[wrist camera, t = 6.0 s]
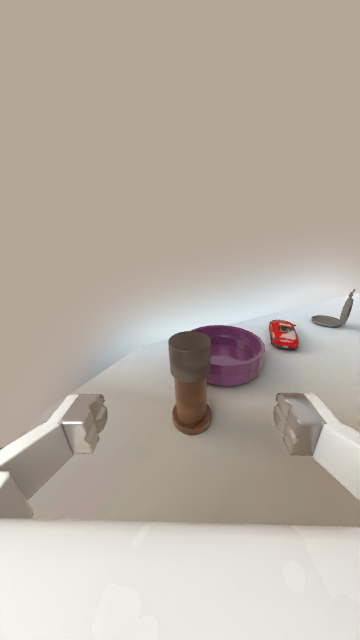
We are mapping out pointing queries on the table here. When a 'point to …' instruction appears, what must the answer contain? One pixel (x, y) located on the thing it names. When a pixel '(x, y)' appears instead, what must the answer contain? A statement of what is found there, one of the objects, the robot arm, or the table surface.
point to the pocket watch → (334, 321)
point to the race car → (283, 334)
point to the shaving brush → (190, 380)
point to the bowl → (233, 355)
